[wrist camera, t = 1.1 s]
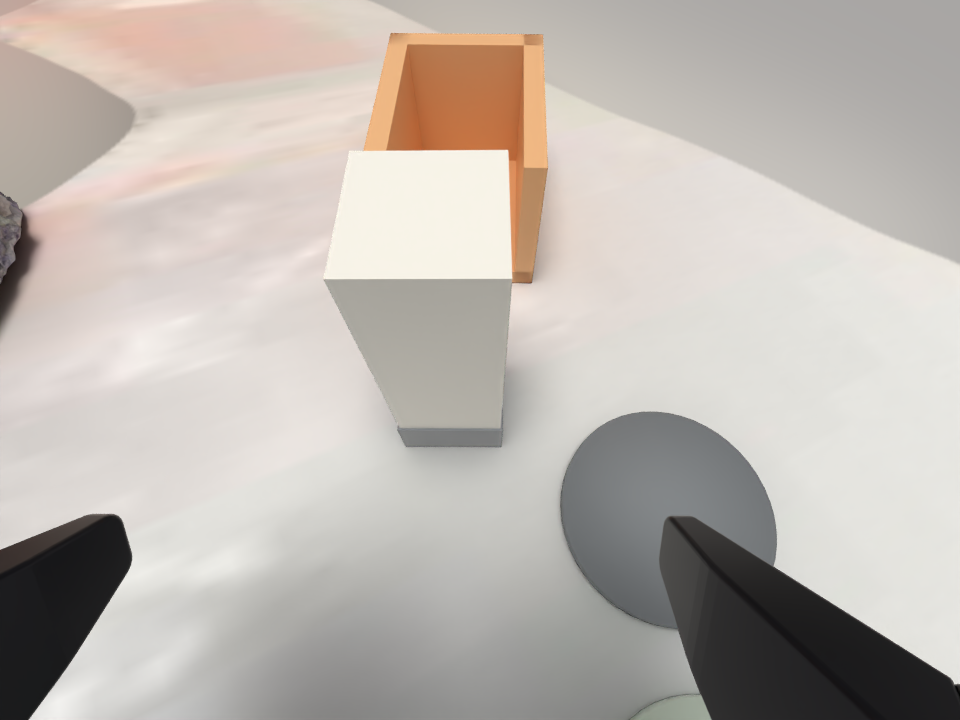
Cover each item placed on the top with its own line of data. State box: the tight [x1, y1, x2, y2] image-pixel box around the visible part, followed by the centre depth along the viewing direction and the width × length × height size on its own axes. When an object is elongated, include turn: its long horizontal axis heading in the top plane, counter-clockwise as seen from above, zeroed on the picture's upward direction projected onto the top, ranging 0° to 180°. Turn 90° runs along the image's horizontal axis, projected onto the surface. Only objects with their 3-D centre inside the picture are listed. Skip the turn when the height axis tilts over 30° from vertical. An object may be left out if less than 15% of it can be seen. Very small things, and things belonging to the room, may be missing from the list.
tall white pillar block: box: [324, 150, 512, 447], centre depth 18 cm, size 5×5×13 cm
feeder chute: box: [363, 33, 548, 283], centre depth 25 cm, size 10×8×8 cm
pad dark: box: [561, 412, 777, 629], centre depth 20 cm, size 9×9×1 cm
